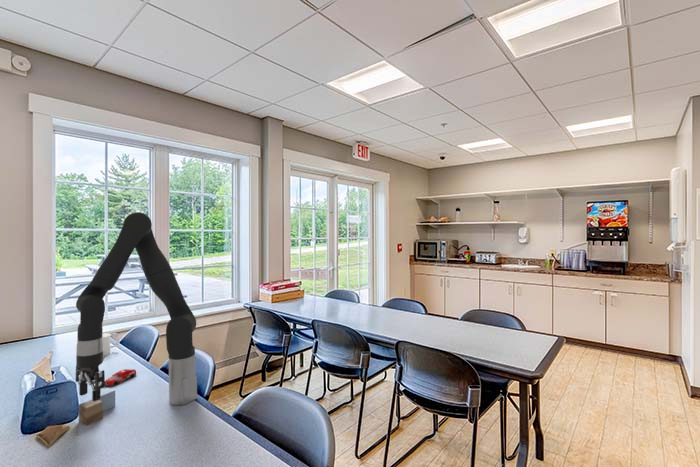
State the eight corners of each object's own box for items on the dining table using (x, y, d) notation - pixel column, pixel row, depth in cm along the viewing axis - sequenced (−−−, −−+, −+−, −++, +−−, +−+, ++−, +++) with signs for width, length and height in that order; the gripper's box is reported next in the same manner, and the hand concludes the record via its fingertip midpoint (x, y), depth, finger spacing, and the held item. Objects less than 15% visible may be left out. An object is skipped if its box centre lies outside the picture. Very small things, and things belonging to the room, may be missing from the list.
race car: (110, 388, 146) (110, 379, 146) (101, 386, 148) (101, 377, 148) (138, 375, 159) (138, 367, 159) (129, 374, 161) (129, 365, 160)
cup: (120, 352, 188) (119, 334, 188) (92, 358, 180) (92, 339, 180) (117, 349, 194) (117, 331, 194) (90, 354, 186) (90, 335, 186)
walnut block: (102, 418, 122) (102, 401, 122) (86, 425, 118) (86, 407, 118) (94, 415, 125) (94, 398, 125) (78, 421, 120) (78, 404, 120)
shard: (49, 449, 106) (49, 443, 106) (20, 451, 105) (20, 445, 105) (71, 429, 117) (71, 423, 117) (45, 431, 115) (45, 425, 115)
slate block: (115, 406, 131) (115, 390, 131) (100, 412, 126) (100, 396, 126) (107, 403, 133) (107, 387, 133) (93, 409, 129) (93, 393, 129)
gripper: (113, 351, 122) (112, 397, 122) (91, 344, 128) (91, 388, 128) (88, 358, 115) (88, 407, 115) (67, 350, 122) (66, 397, 122)
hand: (89, 397), depth 122 cm, fingers open, 8 cm apart
